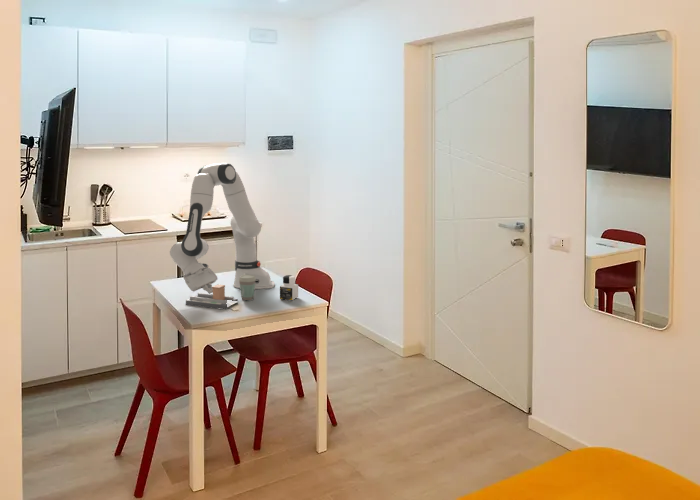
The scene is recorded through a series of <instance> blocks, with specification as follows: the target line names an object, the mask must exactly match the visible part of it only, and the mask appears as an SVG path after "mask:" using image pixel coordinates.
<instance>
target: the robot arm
mask: <svg viewBox="0 0 700 500" xmlns="http://www.w3.org/2000/svg"><path fill="white" fill-rule="evenodd" d="M215 186H221V188H222V190H223V194H224V198H225V200H226V204H227V207H228V210H229V211H230V212H231V214H232V217H231V219H230V227H231V230H232V235H233V241H234V246H235V260H234V270H235V275H234V276H235V277H234V282H233V284H232V286H233V287H234V288H236V289H240V282H239V278H240V276H241V275H254V276H255V278H256V280H255V288H254V290H265V289H272V288H274V287H275V286H276V285H275V281H274V280H271V276H270V272H268V271H266V269H264V268H262V267H261V264H262V263H261V261H260V260H258V259H257V246H256V242H255V237H257V236H258V235H259V234H260V233H261V230H262V225H261V223H260V222H259V220H258V218H257V215H256V213H255V211H254V210H253V208H252V205H251V203H250V200H249V199H248V195H247V193H246V188H245V186H244V183H243V181H242V179H241V176H240V174H239V173H238V172H237V171H236V168H234V166H233V164H231V163H228V162H221V163H220V162H219V163H218V162H217V163H212V164H209V165H207V164H206V165H203V166H201V167H200V168H199V169H198V171H197V174H195V176H194V178H193V181H192V184H191V188H190V189H191V190H190V199H189V214H188V220H187V226H186V232H185V235H184V236H183V239H182V240H181V241H180V242H178V241H177V242H175V244H173V246H171V248H170V250H169V256H170V258H171V259H172V260H173V262H174V263H175V264H176V265H177V266H178V267H179V268H180V269H181V270H182V271H181V272H183V274H184V275H183V281H184V282H185V284H186V286H187V287H188V288H189V290H190V291H191V292H193V293H194V292H196V291H198V290H201V289H202V290H204V291H205V292H207V294H213V288H212V287H213V285H212V284H214V283H216V282H217V281H218V279H219V278H218V276H217V275H216V273H215V272H214V271H213V270H212V268H210V266H209V264H208V263H202V262H199V261H198V260H199V259H201V258H203V257H204V256H205V255H206V254H207V253H208V251H209V244H208V242H207V241H206V240H205V239H204V238H201V229H202V221H203V218H204V216H205V215H206V214H207V213H209V212H210V211H211V209H212V207H213V202H214V189H215Z"/></svg>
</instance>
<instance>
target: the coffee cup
mask: <svg viewBox="0 0 700 500" xmlns="http://www.w3.org/2000/svg"><path fill="white" fill-rule="evenodd" d="M255 280H256V278H255V276H254V275H241V276H240V278H239V282H240V288H239V289H240V295H241V296H240V297H241V300H242V301H244V300H250V301H253V300H254V297H255V296H254V294H255V289H254V288H255ZM252 299H253V300H252Z"/></svg>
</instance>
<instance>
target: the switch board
mask: <svg viewBox="0 0 700 500" xmlns="http://www.w3.org/2000/svg"><path fill="white" fill-rule="evenodd" d="M238 299H239V298H235V297H234V296H229V295H225V300H219V299H213V293H210V294H209V293H205V292H197V295H195V296H193V295H190V296H189V298H188V299H185V305H189V306H195V305H196V307H203V306H204V307H205V308H210V307H212V308H211V309H218V308H220V310H227V309H228V308H227V304H226V303H227V300H232V301H239V300H238ZM226 308H227V309H226Z"/></svg>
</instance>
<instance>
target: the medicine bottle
mask: <svg viewBox="0 0 700 500" xmlns="http://www.w3.org/2000/svg"><path fill="white" fill-rule="evenodd" d="M297 297H298V298H299V284H296V276H294V275H291V274H287V275H284V276H283V277H282V285H280V286H279V299H285V300H284V301H287V300H293V299H295V298H297ZM298 298H297V299H298ZM295 300H296V299H295ZM293 301H294V300H293Z"/></svg>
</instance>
